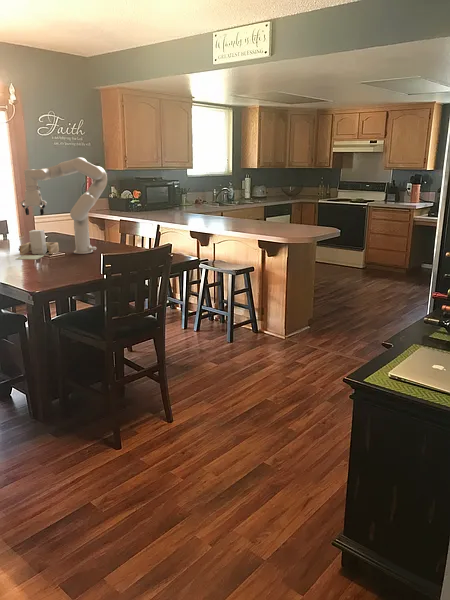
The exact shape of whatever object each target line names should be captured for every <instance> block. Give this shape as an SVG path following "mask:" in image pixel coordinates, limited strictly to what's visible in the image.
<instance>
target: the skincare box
mask: <svg viewBox="0 0 450 600" xmlns="http://www.w3.org/2000/svg"><path fill="white" fill-rule="evenodd" d="M45 233H46V232H45V230H44V229H32V230H30V231H28V234H29V235H28V236H29V242H30V243H31V250H32V251H31V255H44V254H46V252H47V247H46V243H47V241H46V234H45ZM47 253H48V252H47Z"/></svg>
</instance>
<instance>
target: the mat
mask: <svg viewBox="0 0 450 600" xmlns="http://www.w3.org/2000/svg"><path fill="white" fill-rule="evenodd" d="M43 257H45V255H44V254H23V255H20V256H19V257H16V258H15V260H29V261H30V260H31V261H32V260H35V261H36V260H39V259H41V258H43Z"/></svg>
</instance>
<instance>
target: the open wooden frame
mask: <svg viewBox="0 0 450 600" xmlns="http://www.w3.org/2000/svg"><path fill="white" fill-rule="evenodd" d="M18 247H19V254H20V256H23V255H27V254H28V253H30V252H32V250H31V243H30V241H29V242H26V243H23V244H20V245H19V246H18ZM46 247H47V249H48V251H49V252H48V255H49V254H52V255H54V254H56V253H58V252H59V251H60V248H59V242H46ZM53 253H54V254H53Z"/></svg>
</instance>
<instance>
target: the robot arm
mask: <svg viewBox="0 0 450 600" xmlns="http://www.w3.org/2000/svg"><path fill="white" fill-rule="evenodd" d="M77 173H80V174H82V175H84V176H86V177H87V178H89V179H91V180H93V182H92V183H91V185H90V186H89V187H88V188H87V190H86V192H84V193H83V194H81V195H80V197H79V198H78V199H77V200H76V202H75V203H74V205H73V206H72V208H71V210H70V212H69V213H70V218H71V220H73V230H74V231H73V233H74V241H75V250H73V254H77V255H79V254H80V255H83V254H84V255H85V254H91V253H93V252H94V251H96V250H97V247H96V246H92V244H91V241H90V228H89V227H90V225H89V212H90V210H91V209H92V208H93V207H94V206H95V205H96V203H97V201H98V200H99V198H100V197H101V195H103V192H104V190H105V189H106V187H107V185H108V175H107V174H108V173H107V172H106V170H105V169H104V168H103V167H102V166H99V165H94V164H92V163H91V162H89V161H87V159H86V158H84V157H76V158H73V159H69V160H65V161H62V162H59V163H58V164H57V165H51V166H49V167H46V168H39V169H34V168H25V169H24V171H23V175H24V182H25V191H24V200H22V201H20V202H19V203H20V205H21V207H23V209H24V210H25V211H24V212H25V215H26V216H29V215H30V210H29V207H39V208H40V209H39V213H40V216H44V214H45V212H44V209H45V208H46V206H47V204H48V203H47V201H46V200H43V198H42V197H43V196H42V194H41V191H40V189H41V187H40V186H39V184H38V183H39V182H38V181H41V182H42V181H43V182H44V181H47V180H51V179H56V178H59V177H65V176H69V175H72V174H77Z"/></svg>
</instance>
